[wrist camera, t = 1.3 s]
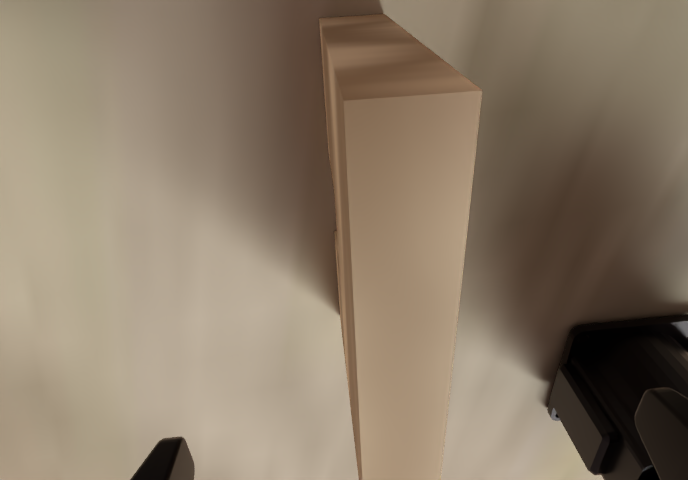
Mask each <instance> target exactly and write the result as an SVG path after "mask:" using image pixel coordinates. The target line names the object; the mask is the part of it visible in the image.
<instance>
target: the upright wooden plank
mask: <svg viewBox="0 0 688 480" xmlns="http://www.w3.org/2000/svg"><path fill="white" fill-rule="evenodd" d="M319 27H320V41H321V55H322V69H323V83H324V97H325V111H326V125H327V139H328V153H329V160H330V167H331V174H332V180H333V187H334V196H335V211H336V226H337V231H334V237H335V251H336V265H337V279H338V293H339V307H340V319H341V328H342V337H343V345H344V354H345V363H346V371H347V380H348V389H349V397H350V406H351V415H352V423H353V432H354V441H355V449H356V458H357V467H358V475H359V480H441V471H442V462H443V452H444V443H445V434H446V425H447V415H448V406H449V397H450V388H451V378H452V369H453V360H454V350H455V341H456V332H457V323H458V313H459V304H460V295H461V285H462V276H463V267H464V258H465V248H466V239H467V230H468V221H469V211H470V202H471V193H472V183H473V174H474V165H475V156H476V146H477V137H478V128H479V119H480V109H481V100H482V90H481V89H480V88H479V87H477V86H476V85H475V84H473V83H472V82H471V81H470V80H468V79H467V78H466V77H464V76H463V75H462V74H461V73H459V72H458V71H457V70H455V69H454V68H453V67H452V66H450V65H449V64H448V63H446V62H445V61H444V60H443V59H441V58H440V57H439V56H437V55H436V54H435V53H434V52H432V51H431V50H430V49H428V48H427V47H426V46H425V45H423V44H422V43H421V42H420V41H418V40H417V39H416V38H414V37H413V36H412V35H411V34H409V33H408V32H407V31H405V30H404V29H403V28H402V27H400V26H399V25H398V24H396V23H395V22H394V21H393V20H391V19H390V18H389V17H387V16H386V15H385V14H375V15H360V16H345V17H330V18H319Z"/></svg>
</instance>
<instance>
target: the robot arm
mask: <svg viewBox="0 0 688 480" xmlns="http://www.w3.org/2000/svg"><path fill="white" fill-rule="evenodd" d="M548 413H549V415H550V417H551V418H552V420H555V421H559V420H561V422H562V424H563V426H564V427H565V429H566V431H567V433H568V435H569V436H570V438H571V440H572V442H573V444H574V445H575V447H576V449H577V451H578V453H579V454H580V456H581V458H582V460H583V462H584V463H585V465H586V467H587V469H588V470H589V471H590V472H591V473H592V474H594V475H602V477H603V479H604V480H688V315H680V316H670V317H659V318H649V319H639V320H629V321H618V322H608V323H598V324H588V325H580V326H577V327H575V328H573V329H572V330H571V331H570V333H569V335H568V339H567V342H566V346H565V350H564V353H563V357H562V360H561V364H560V367H559V369H558V372H557V375H556V379H555V382H554V386H553V389H552V393H551V397H550V402H549V406H548ZM130 480H194V462H193V459H192V456H191V453H190V451H189V448H188V446H187V443H186V441H185V439H184V438H183V437H172V438H164V439H162V440H160V441H159V442H158V443H157V445H156V446H155V447H154V449H153V450H152V451H151V453H150V454H149V455H148V457H147V458H146V459H145V461H144V462H143V463H142V465H141V466H140V467H139V469H138V470H137V471H136V473H135V474H134V475H133V477H132V478H131V479H130Z"/></svg>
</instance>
